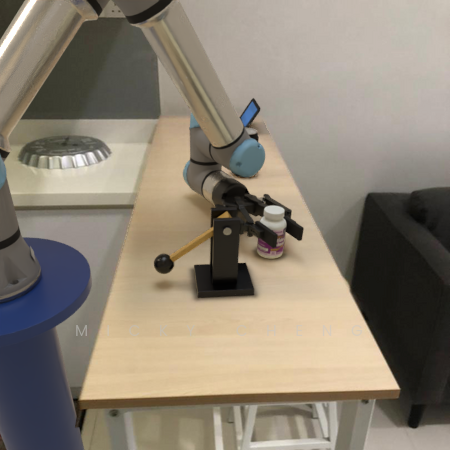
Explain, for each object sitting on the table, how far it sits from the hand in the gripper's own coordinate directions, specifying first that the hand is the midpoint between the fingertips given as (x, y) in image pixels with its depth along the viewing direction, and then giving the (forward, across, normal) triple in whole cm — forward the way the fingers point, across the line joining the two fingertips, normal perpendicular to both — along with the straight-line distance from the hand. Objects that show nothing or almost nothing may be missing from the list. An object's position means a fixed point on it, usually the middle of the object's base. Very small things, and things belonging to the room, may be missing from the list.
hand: (288, 237), depth 88 cm
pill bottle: (-5, 0, -6) cm, 8 cm away
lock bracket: (0, +14, -6) cm, 15 cm away
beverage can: (-45, -19, -6) cm, 49 cm away
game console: (-84, -40, -6) cm, 93 cm away
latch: (-2, +18, +1) cm, 18 cm away
